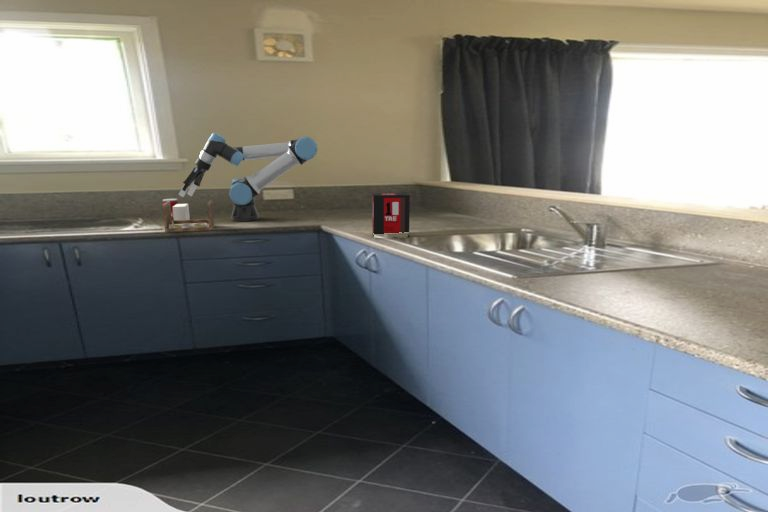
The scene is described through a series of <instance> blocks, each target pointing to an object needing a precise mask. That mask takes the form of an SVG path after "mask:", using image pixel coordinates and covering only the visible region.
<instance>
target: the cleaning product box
mask: <svg viewBox="0 0 768 512" xmlns="http://www.w3.org/2000/svg"><path fill="white" fill-rule="evenodd" d="M371 195H372V197H371V198H372V199H371V200H372V201H371V203H372V204H371V205H372V208H371V209H372V221H371V223H372V234H373V233H374V234H384V233H399V232H402V233H404V232H409V233H410V199H411V195H410V194H409V193H408V192H396V193H395V192H389V193H388V192H384V193H383V192H381V193H380V192H377V193H376V192H375V193H374V192H373V193H371Z"/></svg>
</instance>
